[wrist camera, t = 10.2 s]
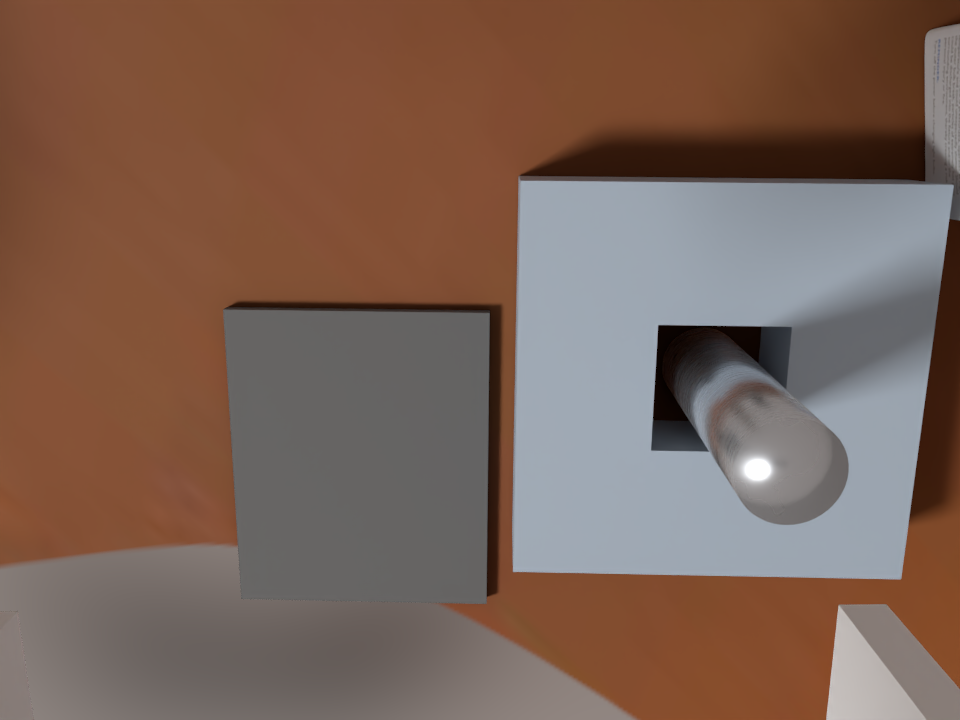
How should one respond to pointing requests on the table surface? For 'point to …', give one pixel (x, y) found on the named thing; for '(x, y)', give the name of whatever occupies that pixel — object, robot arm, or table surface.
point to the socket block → (717, 302)
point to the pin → (755, 429)
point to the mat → (360, 452)
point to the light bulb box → (943, 110)
